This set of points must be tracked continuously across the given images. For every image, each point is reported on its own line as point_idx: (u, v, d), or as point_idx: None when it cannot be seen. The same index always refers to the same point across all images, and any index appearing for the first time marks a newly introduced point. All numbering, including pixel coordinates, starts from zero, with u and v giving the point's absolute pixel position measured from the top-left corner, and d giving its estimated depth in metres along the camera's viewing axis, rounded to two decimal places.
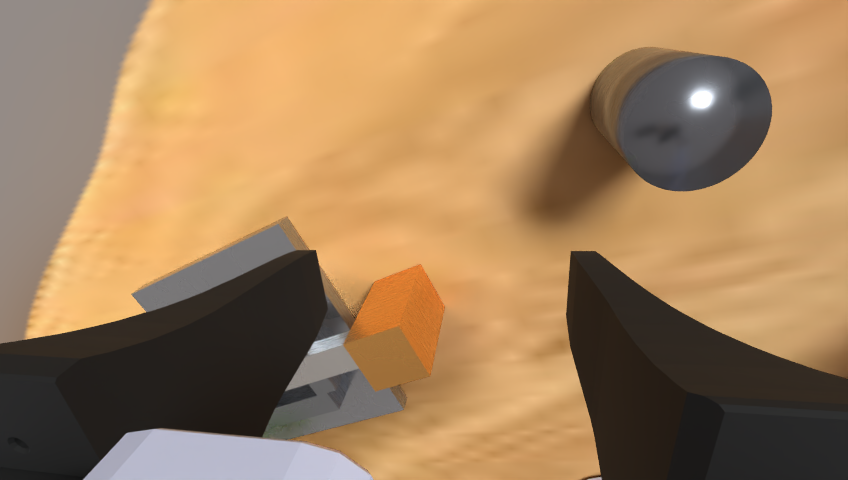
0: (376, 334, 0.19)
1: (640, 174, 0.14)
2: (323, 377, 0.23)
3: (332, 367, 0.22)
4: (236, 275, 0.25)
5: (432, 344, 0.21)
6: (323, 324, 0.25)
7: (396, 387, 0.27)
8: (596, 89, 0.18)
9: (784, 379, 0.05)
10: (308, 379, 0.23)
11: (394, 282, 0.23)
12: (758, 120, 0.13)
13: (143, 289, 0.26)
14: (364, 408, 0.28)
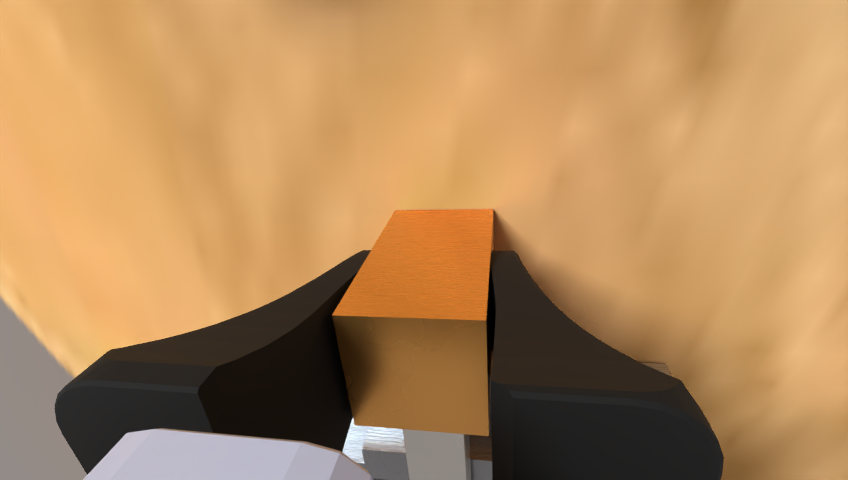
0: (344, 362, 0.09)
1: None
2: (462, 478, 0.12)
3: (445, 454, 0.11)
4: None
5: (473, 271, 0.10)
6: None
7: None
8: None
9: (596, 369, 0.05)
10: None
11: None
12: None
13: None
14: None
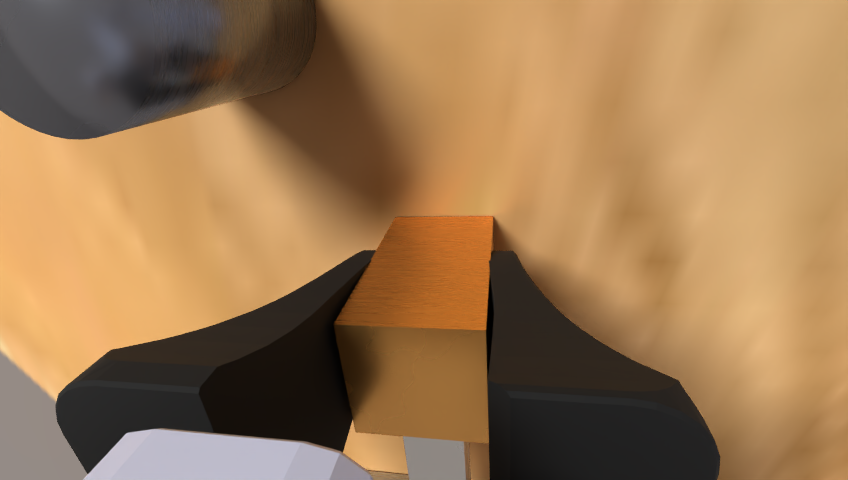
0: (344, 370, 0.09)
1: (118, 123, 0.07)
2: None
3: (445, 460, 0.12)
4: None
5: (473, 279, 0.10)
6: None
7: None
8: None
9: (593, 369, 0.05)
10: None
11: None
12: None
13: None
14: None
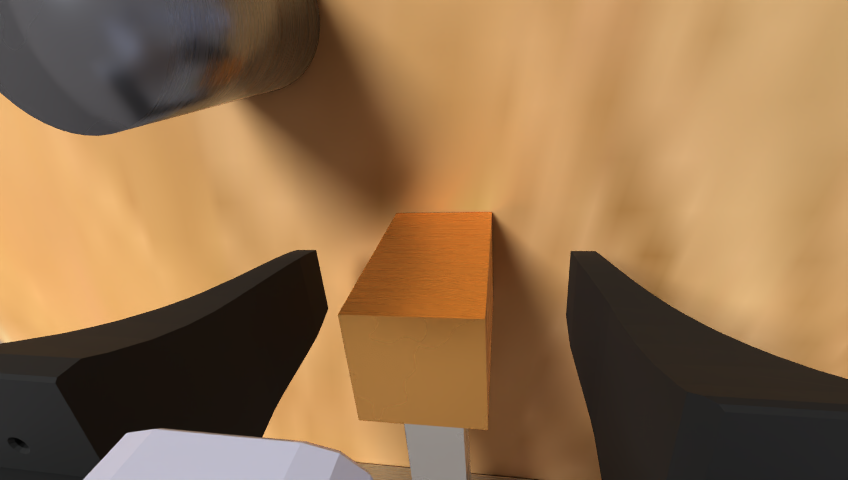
0: (348, 359, 0.09)
1: (132, 120, 0.07)
2: (462, 472, 0.12)
3: (445, 449, 0.12)
4: None
5: (472, 272, 0.10)
6: None
7: None
8: None
9: (784, 379, 0.05)
10: None
11: None
12: None
13: None
14: None
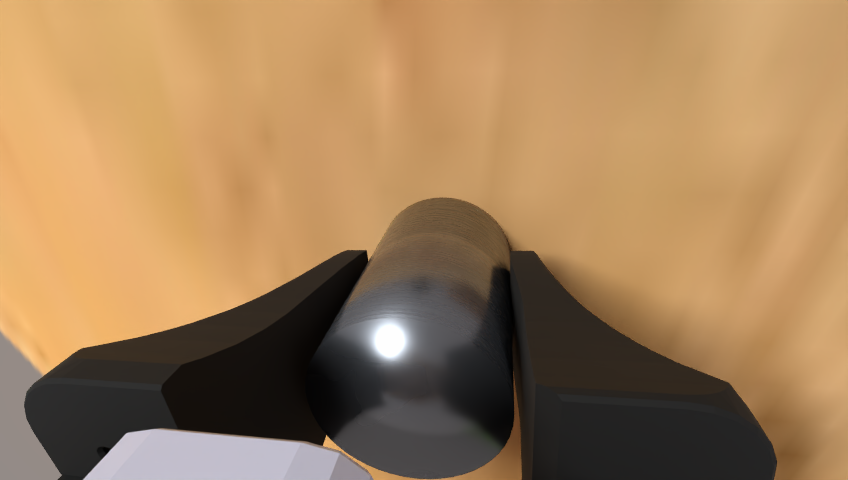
0: None
1: (451, 474, 0.09)
2: None
3: None
4: None
5: None
6: None
7: None
8: None
9: (640, 372, 0.05)
10: None
11: None
12: (426, 341, 0.07)
13: None
14: None
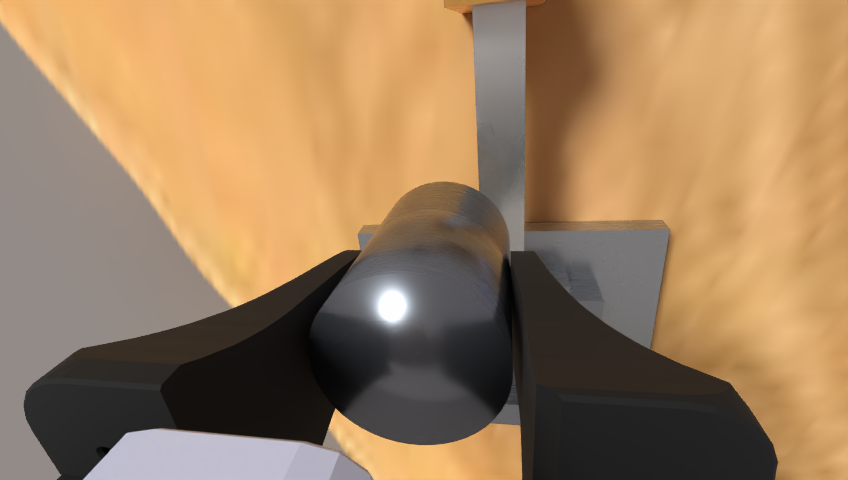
0: None
1: (455, 438, 0.09)
2: (521, 109, 0.14)
3: (509, 81, 0.14)
4: None
5: None
6: None
7: (633, 223, 0.19)
8: None
9: (640, 372, 0.05)
10: (517, 136, 0.15)
11: None
12: (422, 295, 0.08)
13: None
14: (640, 279, 0.20)
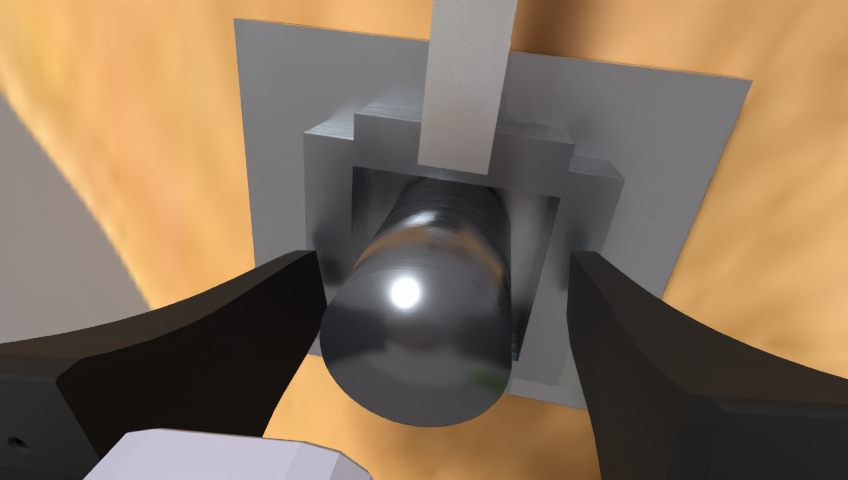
0: None
1: (459, 421, 0.09)
2: None
3: None
4: (293, 173, 0.14)
5: None
6: None
7: (689, 71, 0.12)
8: None
9: (784, 379, 0.05)
10: None
11: None
12: (425, 289, 0.08)
13: None
14: (679, 169, 0.12)
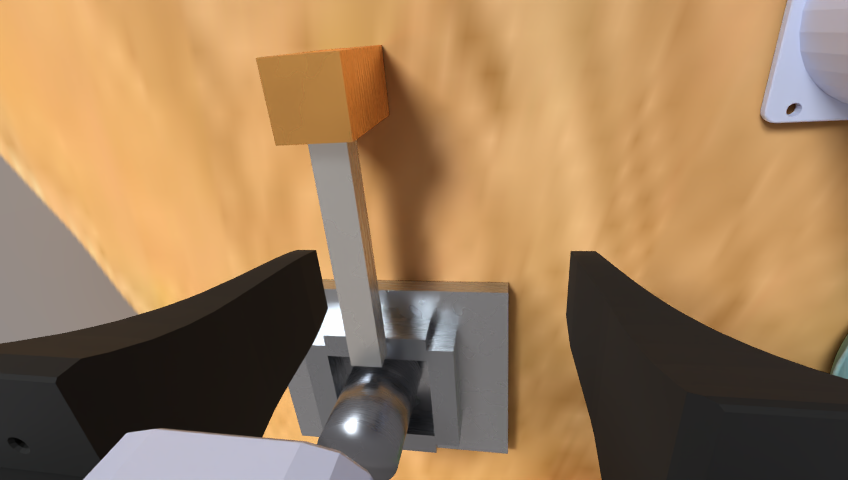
0: (265, 93, 0.15)
1: None
2: (354, 211, 0.18)
3: (342, 191, 0.18)
4: None
5: (346, 49, 0.16)
6: None
7: (483, 285, 0.23)
8: None
9: (783, 379, 0.05)
10: (354, 231, 0.18)
11: None
12: (356, 430, 0.20)
13: (300, 424, 0.30)
14: (491, 331, 0.23)
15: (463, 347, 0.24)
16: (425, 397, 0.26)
